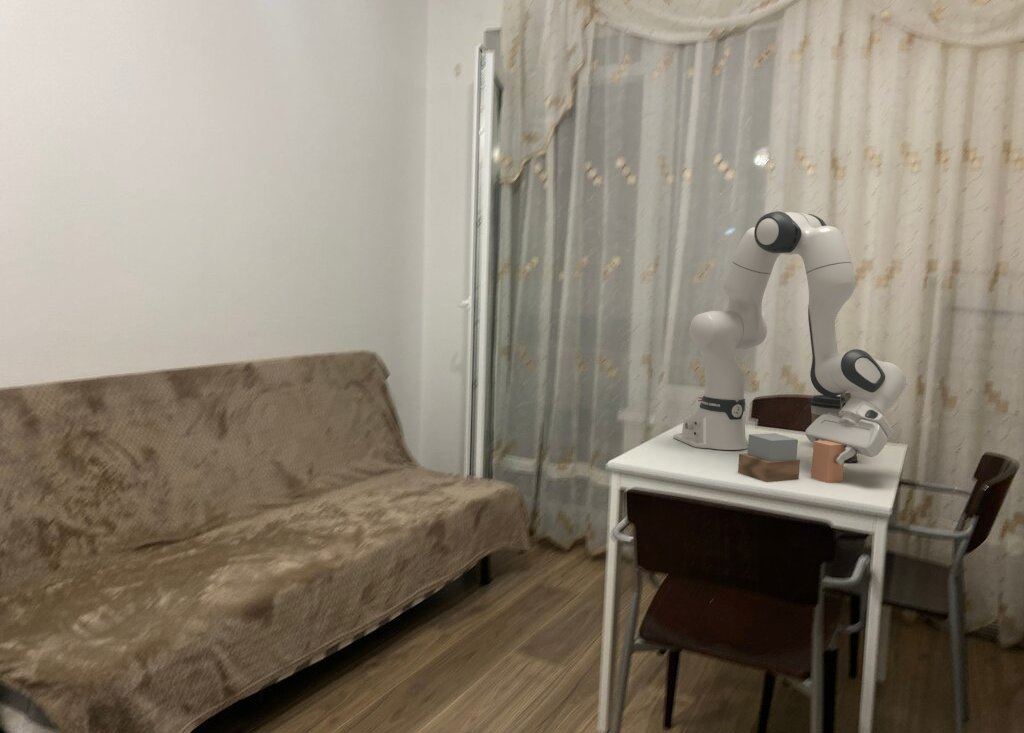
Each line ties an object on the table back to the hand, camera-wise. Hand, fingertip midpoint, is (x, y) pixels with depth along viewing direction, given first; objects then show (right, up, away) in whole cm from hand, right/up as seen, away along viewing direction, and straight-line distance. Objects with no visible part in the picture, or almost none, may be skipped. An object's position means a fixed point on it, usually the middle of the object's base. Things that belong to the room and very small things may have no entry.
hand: (826, 459), depth 191 cm
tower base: (-13, -5, +2) cm, 14 cm away
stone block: (+17, -3, +27) cm, 32 cm away
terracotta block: (0, -5, +1) cm, 5 cm away
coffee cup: (+17, -2, +43) cm, 46 cm away
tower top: (-13, 0, +2) cm, 13 cm away
